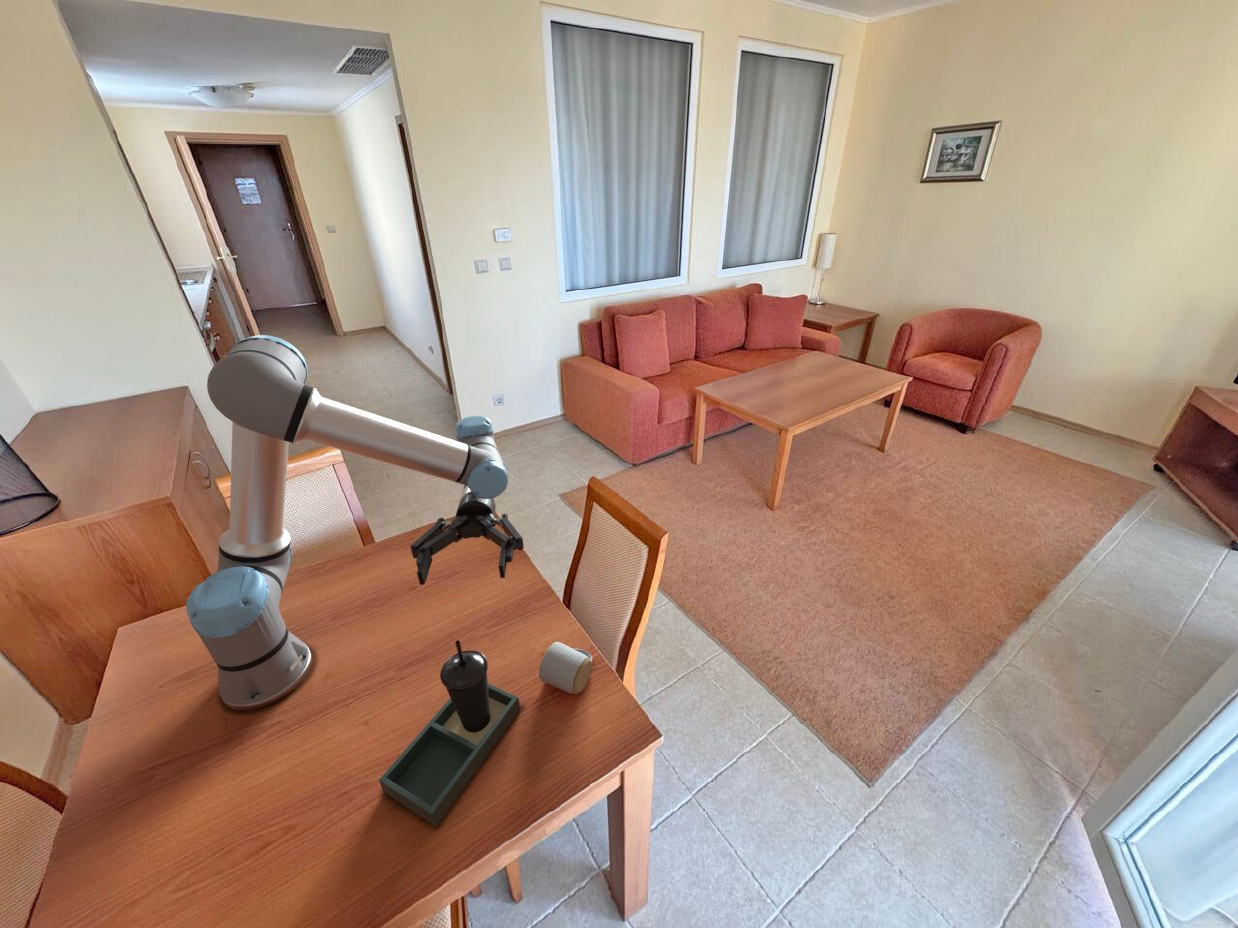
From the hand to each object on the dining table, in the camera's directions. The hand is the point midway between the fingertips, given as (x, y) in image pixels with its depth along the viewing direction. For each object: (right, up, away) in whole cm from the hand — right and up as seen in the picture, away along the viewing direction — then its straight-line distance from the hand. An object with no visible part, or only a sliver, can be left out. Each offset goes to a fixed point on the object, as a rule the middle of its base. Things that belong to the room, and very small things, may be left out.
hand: (461, 575), depth 85 cm
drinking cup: (+1, -27, +4) cm, 27 cm away
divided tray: (-1, -30, 0) cm, 30 cm away
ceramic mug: (+17, -23, +13) cm, 31 cm away
